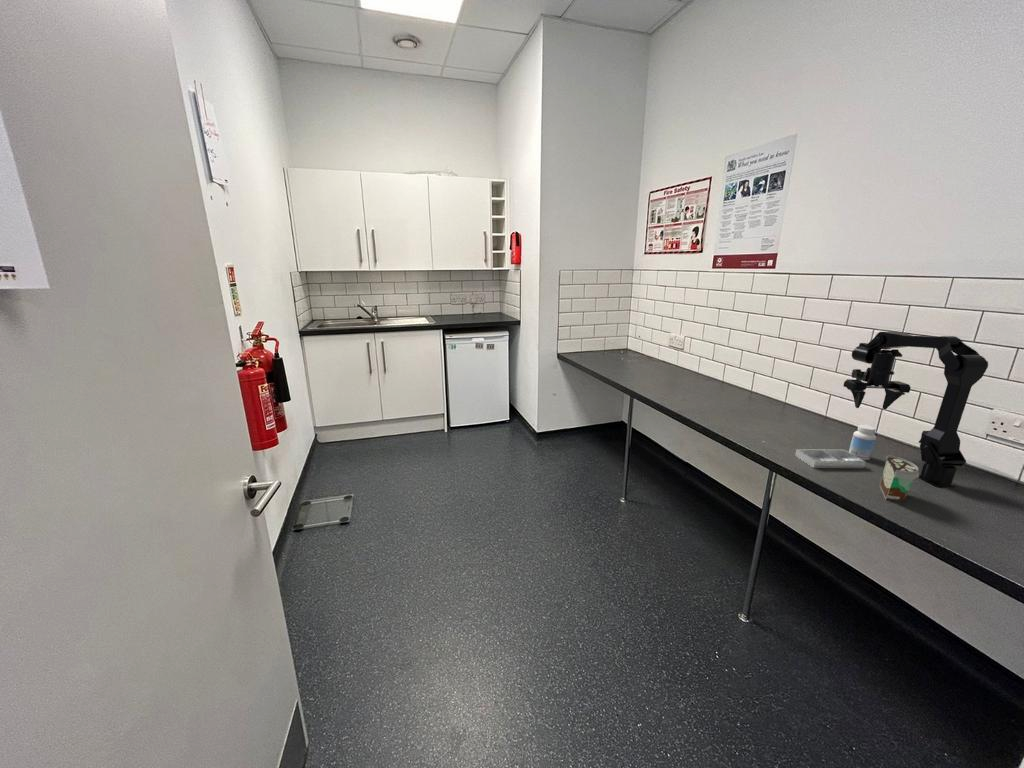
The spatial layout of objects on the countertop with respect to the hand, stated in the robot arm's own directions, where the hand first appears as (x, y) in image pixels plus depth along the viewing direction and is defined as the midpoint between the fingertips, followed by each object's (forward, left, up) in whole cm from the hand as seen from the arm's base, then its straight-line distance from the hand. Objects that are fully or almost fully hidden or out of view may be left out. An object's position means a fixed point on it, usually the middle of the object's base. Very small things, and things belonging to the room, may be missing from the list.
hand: (870, 408), depth 151 cm
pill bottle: (-10, +9, -15) cm, 20 cm away
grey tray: (-14, +23, -14) cm, 31 cm away
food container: (-35, +19, -15) cm, 43 cm away
